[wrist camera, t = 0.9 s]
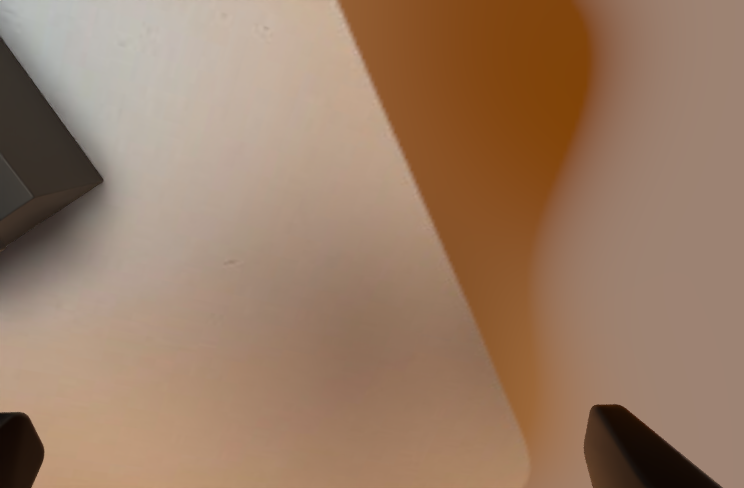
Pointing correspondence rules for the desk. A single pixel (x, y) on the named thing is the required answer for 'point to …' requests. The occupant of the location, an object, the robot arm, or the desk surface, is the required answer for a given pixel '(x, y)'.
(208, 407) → the desk surface
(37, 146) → the grey socket base
